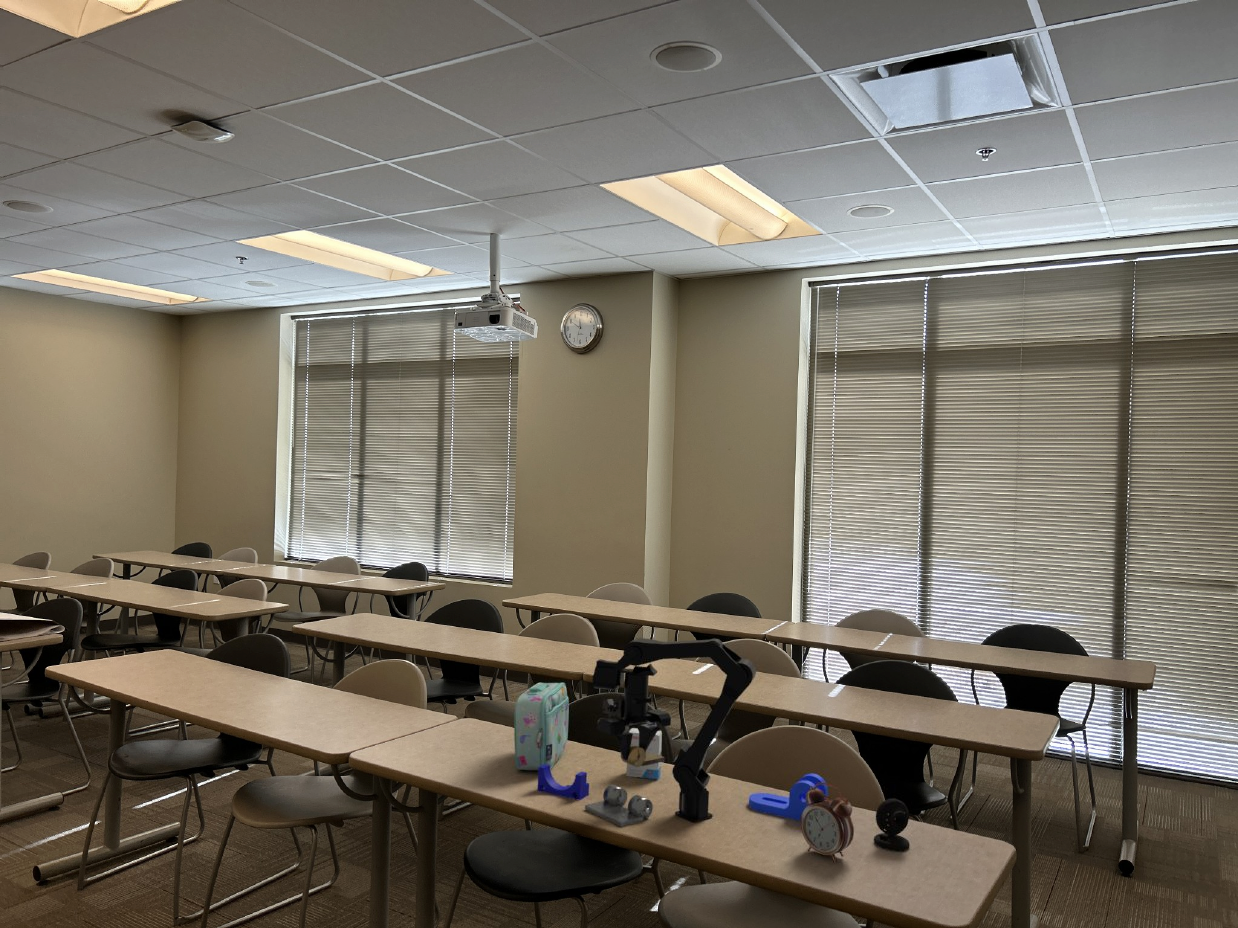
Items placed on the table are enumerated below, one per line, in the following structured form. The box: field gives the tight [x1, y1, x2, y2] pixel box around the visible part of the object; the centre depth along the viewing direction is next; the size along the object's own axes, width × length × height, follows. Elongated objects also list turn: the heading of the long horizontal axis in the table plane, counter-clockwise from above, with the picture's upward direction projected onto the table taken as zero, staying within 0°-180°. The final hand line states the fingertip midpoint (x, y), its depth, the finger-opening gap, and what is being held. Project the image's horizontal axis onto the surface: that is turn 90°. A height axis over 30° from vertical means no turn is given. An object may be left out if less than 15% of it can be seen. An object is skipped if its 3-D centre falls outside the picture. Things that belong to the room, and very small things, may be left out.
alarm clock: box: [800, 782, 855, 863], centre depth 184 cm, size 11×5×15 cm, turn 45°
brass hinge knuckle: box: [620, 744, 665, 767], centre depth 210 cm, size 4×10×4 cm, turn 128°
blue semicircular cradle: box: [536, 764, 590, 801], centre depth 216 cm, size 12×4×6 cm, turn 64°
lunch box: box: [513, 682, 569, 771], centre depth 239 cm, size 27×10×21 cm, turn 171°
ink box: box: [625, 727, 663, 781], centre depth 231 cm, size 9×5×12 cm, turn 76°
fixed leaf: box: [584, 784, 654, 828], centre depth 203 cm, size 14×10×4 cm
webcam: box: [873, 798, 911, 852], centre depth 192 cm, size 8×8×10 cm
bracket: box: [748, 773, 829, 822], centre depth 210 cm, size 18×8×9 cm, turn 62°
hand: (633, 758), depth 208 cm, fingers closed on brass hinge knuckle, 4 cm apart
